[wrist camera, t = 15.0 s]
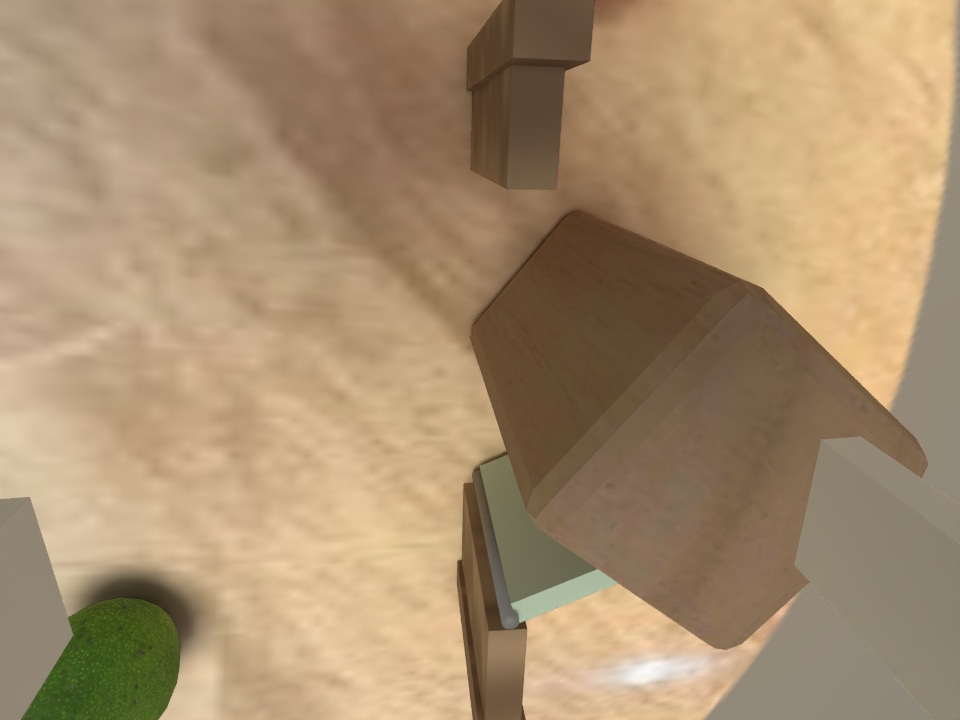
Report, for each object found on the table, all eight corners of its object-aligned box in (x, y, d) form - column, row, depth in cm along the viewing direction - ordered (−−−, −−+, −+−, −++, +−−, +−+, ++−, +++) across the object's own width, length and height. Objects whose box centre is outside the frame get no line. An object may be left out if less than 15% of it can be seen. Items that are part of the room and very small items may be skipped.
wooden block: (689, 306, 39) (956, 468, 20) (580, 424, 41) (730, 672, 22) (573, 200, 36) (759, 274, 17) (461, 332, 38) (518, 530, 19)
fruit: (56, 645, 42) (-72, 833, 30) (90, 552, 40) (-33, 716, 28) (178, 677, 44) (100, 864, 32) (216, 589, 42) (147, 757, 30)
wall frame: (467, 48, 32) (515, -18, 18) (513, 50, 33) (595, -13, 19) (457, 584, 44) (482, 797, 30) (491, 582, 44) (532, 793, 30)
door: (741, 359, 40) (889, 459, 28) (745, 375, 40) (893, 480, 28) (469, 470, 40) (497, 615, 28) (476, 484, 41) (507, 635, 28)
